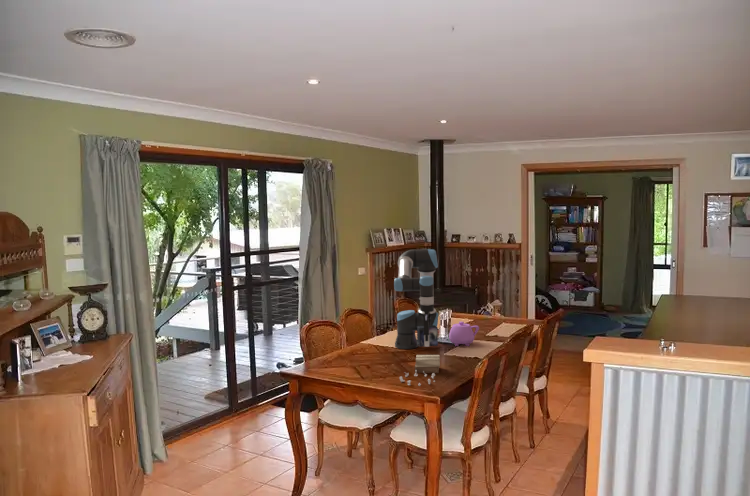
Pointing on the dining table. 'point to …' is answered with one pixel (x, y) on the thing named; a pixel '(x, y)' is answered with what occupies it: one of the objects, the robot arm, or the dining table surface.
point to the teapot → (462, 334)
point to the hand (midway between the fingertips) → (427, 344)
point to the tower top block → (427, 361)
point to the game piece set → (416, 375)
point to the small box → (432, 336)
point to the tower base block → (426, 369)
